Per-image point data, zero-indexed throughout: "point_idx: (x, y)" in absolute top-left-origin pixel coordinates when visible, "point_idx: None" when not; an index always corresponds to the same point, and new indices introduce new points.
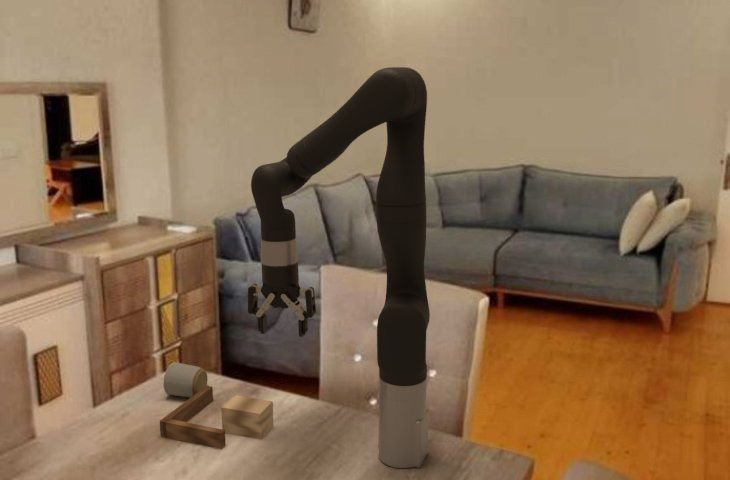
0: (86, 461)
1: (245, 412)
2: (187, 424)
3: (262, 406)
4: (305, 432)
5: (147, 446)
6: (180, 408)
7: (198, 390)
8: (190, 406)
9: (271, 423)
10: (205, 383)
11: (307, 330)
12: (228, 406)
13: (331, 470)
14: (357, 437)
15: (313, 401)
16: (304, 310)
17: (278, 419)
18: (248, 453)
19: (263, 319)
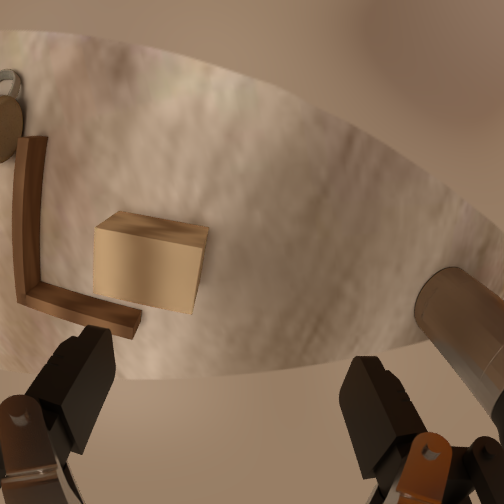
0: (4, 350)
1: (154, 305)
2: (60, 312)
3: (185, 280)
4: (286, 246)
5: (34, 317)
6: (18, 253)
7: (11, 143)
8: (26, 227)
9: (206, 239)
10: (14, 109)
11: (395, 381)
12: (105, 287)
13: (342, 353)
14: (389, 253)
15: (281, 94)
16: (435, 485)
17: (212, 195)
18: (192, 330)
19: (84, 438)
